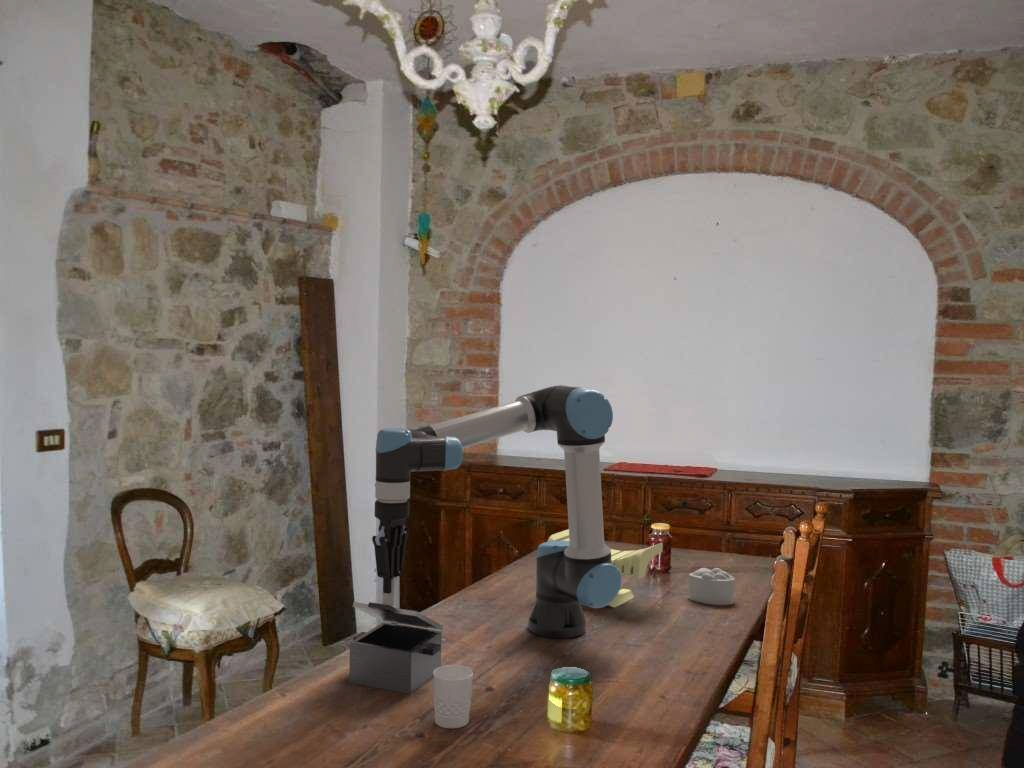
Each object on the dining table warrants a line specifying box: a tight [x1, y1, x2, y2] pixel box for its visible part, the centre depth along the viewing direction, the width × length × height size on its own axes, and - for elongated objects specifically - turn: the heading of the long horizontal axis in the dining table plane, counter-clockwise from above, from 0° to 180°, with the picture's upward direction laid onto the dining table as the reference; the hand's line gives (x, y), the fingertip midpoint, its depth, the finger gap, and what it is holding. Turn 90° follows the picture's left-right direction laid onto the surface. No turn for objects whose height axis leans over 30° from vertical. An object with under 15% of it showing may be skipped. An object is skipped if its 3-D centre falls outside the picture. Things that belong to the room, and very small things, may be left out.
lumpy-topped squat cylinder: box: [687, 567, 736, 606], centre depth 264 cm, size 10×13×9 cm
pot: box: [348, 621, 443, 695], centre depth 199 cm, size 20×15×9 cm
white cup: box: [432, 664, 474, 729], centre depth 176 cm, size 8×8×10 cm
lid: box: [352, 601, 444, 631], centre depth 198 cm, size 15×19×2 cm
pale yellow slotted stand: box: [546, 528, 664, 608], centre depth 261 cm, size 30×16×18 cm, turn 57°
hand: (389, 606), depth 195 cm, fingers closed
